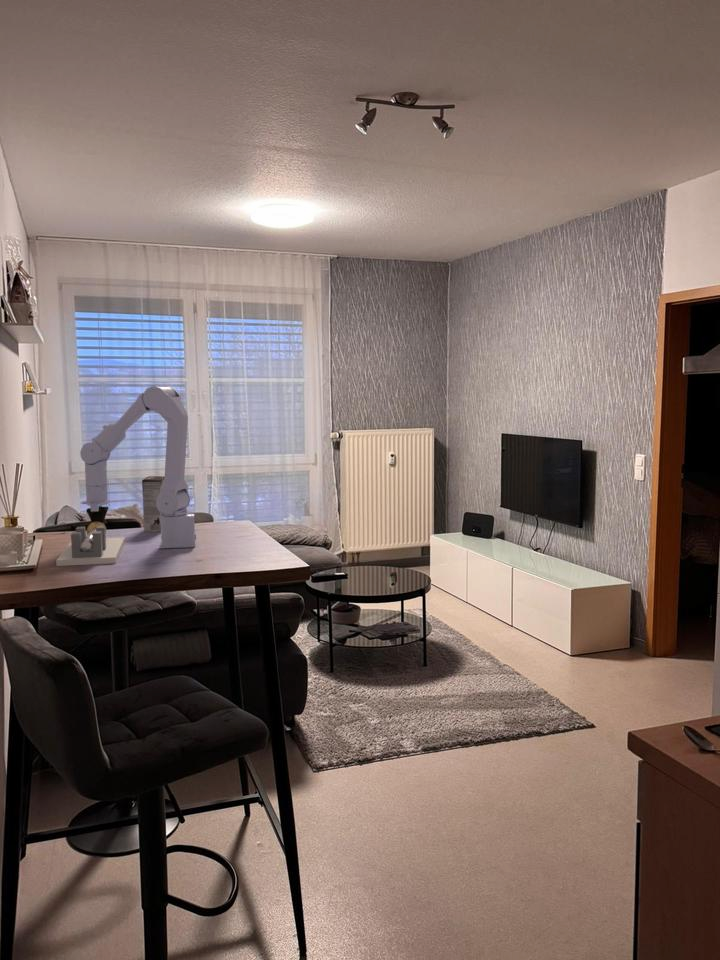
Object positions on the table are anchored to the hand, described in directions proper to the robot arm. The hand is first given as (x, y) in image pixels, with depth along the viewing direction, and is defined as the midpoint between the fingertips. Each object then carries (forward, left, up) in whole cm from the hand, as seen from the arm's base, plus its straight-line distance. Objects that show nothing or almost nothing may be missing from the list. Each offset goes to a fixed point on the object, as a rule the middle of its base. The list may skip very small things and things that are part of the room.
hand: (98, 533), depth 219 cm
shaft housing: (0, +14, -3) cm, 14 cm away
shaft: (0, +16, -1) cm, 16 cm away
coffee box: (-15, -20, -3) cm, 25 cm away
